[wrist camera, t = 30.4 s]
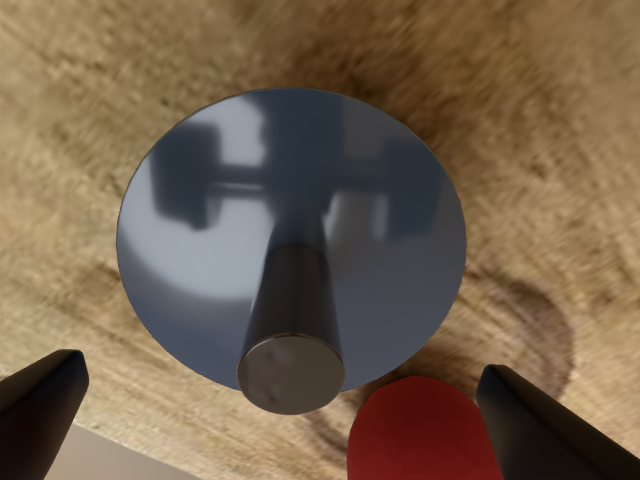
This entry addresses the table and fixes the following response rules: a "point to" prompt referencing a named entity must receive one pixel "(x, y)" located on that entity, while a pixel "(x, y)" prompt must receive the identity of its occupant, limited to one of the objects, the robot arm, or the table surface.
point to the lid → (291, 244)
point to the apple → (420, 435)
